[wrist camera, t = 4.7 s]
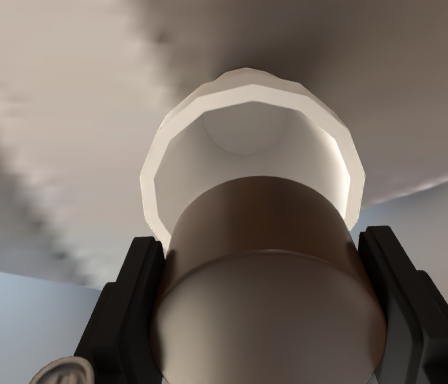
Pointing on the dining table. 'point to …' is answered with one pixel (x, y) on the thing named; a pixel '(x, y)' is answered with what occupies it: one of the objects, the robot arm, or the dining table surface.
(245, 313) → the walnut chip
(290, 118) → the foam cup
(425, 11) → the dining table surface
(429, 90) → the dining table surface
